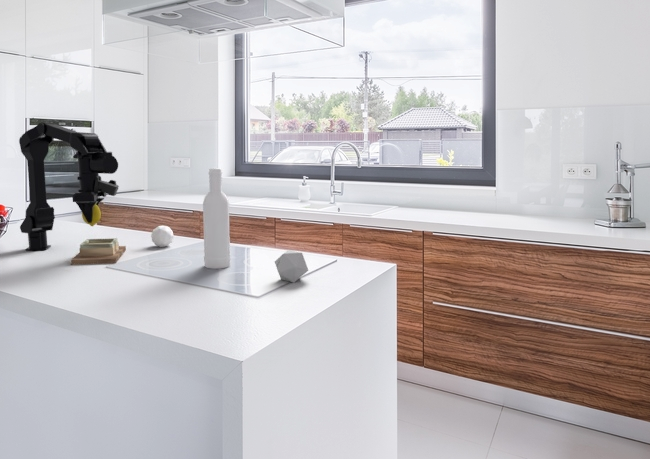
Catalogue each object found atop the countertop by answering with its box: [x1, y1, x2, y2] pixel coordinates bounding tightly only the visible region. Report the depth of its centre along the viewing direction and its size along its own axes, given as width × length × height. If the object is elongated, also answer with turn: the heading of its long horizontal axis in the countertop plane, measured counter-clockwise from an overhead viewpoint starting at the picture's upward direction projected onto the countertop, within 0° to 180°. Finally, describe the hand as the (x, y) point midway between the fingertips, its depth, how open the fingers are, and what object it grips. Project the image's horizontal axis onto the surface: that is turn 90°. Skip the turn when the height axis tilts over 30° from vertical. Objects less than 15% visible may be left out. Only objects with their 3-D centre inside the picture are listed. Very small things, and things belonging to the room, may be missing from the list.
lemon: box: [81, 204, 102, 227], centre depth 168 cm, size 6×6×8 cm
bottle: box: [202, 167, 231, 270], centre depth 158 cm, size 8×8×30 cm
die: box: [274, 249, 309, 283], centre depth 145 cm, size 8×9×10 cm
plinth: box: [70, 237, 127, 266], centre depth 171 cm, size 20×13×5 cm, turn 12°
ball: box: [150, 225, 174, 248], centre depth 189 cm, size 8×8×8 cm
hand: (92, 221), depth 168 cm, fingers closed on lemon, 5 cm apart
